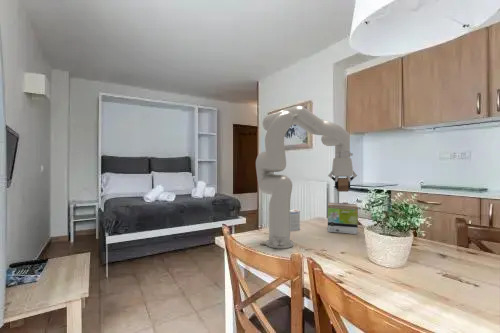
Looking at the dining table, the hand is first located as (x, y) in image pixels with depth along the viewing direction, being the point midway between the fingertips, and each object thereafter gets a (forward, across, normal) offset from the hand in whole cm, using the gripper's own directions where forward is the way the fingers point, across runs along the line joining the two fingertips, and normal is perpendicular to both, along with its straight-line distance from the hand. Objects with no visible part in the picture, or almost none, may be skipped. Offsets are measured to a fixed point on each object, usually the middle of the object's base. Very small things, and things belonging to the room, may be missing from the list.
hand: (342, 188), depth 142 cm
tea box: (+23, 0, 0) cm, 23 cm away
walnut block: (+1, 0, 0) cm, 1 cm away
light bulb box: (+23, +28, -2) cm, 37 cm away
